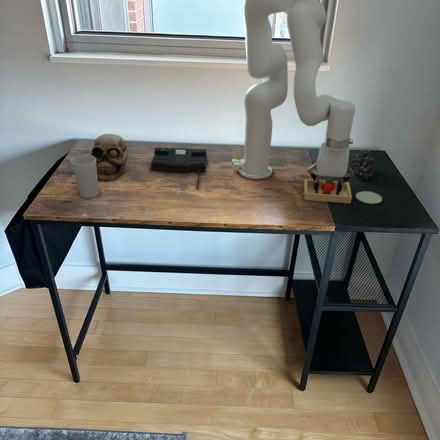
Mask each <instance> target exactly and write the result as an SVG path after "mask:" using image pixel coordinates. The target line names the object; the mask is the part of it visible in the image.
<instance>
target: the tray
mask: <svg viewBox="0 0 440 440" xmlns="http://www.w3.org/2000/svg"><path fill="white" fill-rule="evenodd" d="M303 181H304V182H303V200H306V201H317V202H327V203H329V202H330V203H338V204H339V203H341V204H351V203H352V199H353V196H352V189H351V185H350V182H349V181H346V182H345V183H344V184H343V185H342V190H341V192H339V195H336V189H337V184H338V182H339V181H336V180H333V183H334V190H333V191H332V192H331V195H329V194H322V192H323V191H322V188H321V186H322V183H323V182H324V181H325V179H324V180H323V179H320V180H319V188H318V193H315V190H314V183H315V181H314V180H313V179H312V178H304V180H303Z"/></svg>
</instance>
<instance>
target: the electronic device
mask: <svg viewBox="0 0 440 440" xmlns="http://www.w3.org/2000/svg"><path fill="white" fill-rule="evenodd" d="M207 164H208V154H207V149H206V148H202V149H201V148H184V147H183V148H182V147H181V148H180V147H154V155H153V158H152V160H151V163H150V168H151V170H162V171H166V172H187V173H190V172H193V171H194V172H198V174H197V175H198V176H197V177H198V178H197V184H196V190H198V187H199V182H200V174H201V172H205V171H206V170H207Z"/></svg>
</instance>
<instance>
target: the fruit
mask: <svg viewBox="0 0 440 440" xmlns="http://www.w3.org/2000/svg"><path fill="white" fill-rule="evenodd" d="M351 163H353V164H352V167H354V168H353V171H354V173H356V175H357V176H359V177H360V179H362V180H363V181H366V182H367V181H369V179H370V178H372V177H373V176H374V173H375V171H376V170H375V167H376V162H375V158H374V157H373V155H372V152H371V150H370V149H366V150H364V149H361V150H359V152H358V153H355V154H353V157H352V158H351Z"/></svg>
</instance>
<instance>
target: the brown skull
mask: <svg viewBox="0 0 440 440" xmlns="http://www.w3.org/2000/svg"><path fill="white" fill-rule="evenodd" d="M89 155H90V156H94V157H95V158H96V167H97V180H100V181H105V182H107V181H113V180H115V179H117V178H119V177H121V176H122V175H123V174H125V172H126V163H127V162H128V156H129V155H128V145H127V143H126V140H125V139H124V138H123V137H122V136H120V135H119V134H114V133H103V134H101V135H99V136H97V137H96V138H95V140H94V143H93V146H92V148H91V151H90V154H89Z"/></svg>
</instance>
